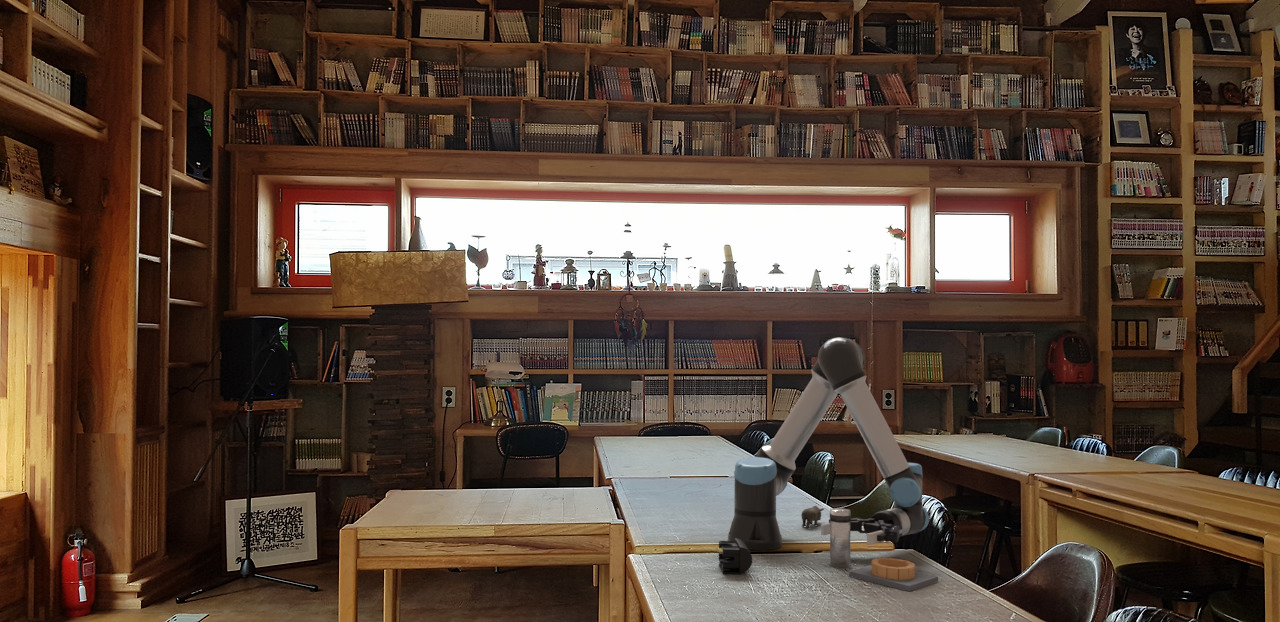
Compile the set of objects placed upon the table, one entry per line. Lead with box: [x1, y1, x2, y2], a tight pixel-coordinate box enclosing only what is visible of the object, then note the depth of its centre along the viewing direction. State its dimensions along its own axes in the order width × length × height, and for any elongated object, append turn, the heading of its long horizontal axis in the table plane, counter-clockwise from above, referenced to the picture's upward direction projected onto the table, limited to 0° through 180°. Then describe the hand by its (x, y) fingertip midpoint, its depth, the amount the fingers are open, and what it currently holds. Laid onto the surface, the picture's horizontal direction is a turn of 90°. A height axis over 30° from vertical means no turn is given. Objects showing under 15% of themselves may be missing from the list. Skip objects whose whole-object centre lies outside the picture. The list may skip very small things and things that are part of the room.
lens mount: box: [848, 557, 939, 592], centre depth 193 cm, size 16×13×4 cm
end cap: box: [718, 538, 753, 576], centre depth 199 cm, size 10×7×7 cm
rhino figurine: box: [801, 505, 825, 529], centre depth 255 cm, size 4×14×6 cm, turn 145°
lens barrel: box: [829, 507, 852, 569], centre depth 205 cm, size 5×5×14 cm
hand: (844, 534), depth 205 cm, fingers open, 13 cm apart
